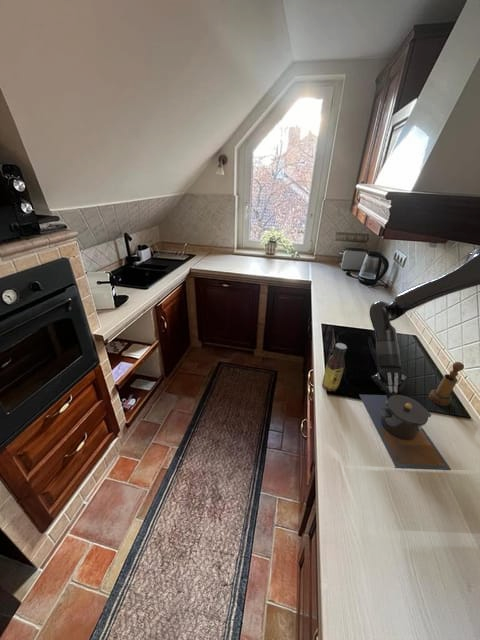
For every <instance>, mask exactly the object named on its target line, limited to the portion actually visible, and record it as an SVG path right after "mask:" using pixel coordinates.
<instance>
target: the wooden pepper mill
mask: <svg viewBox="0 0 480 640" xmlns="http://www.w3.org/2000/svg"><path fill="white" fill-rule="evenodd" d="M464 369H465V365H464V364H463V362H460V361H455V362H453V363H452V370H450V371H449V373H446V374H444V375H443V377H442V378H441V381H440V382H439V385H438V387H437V388H436V389H431V391H430V392H429V393H428V398H429V399H430V401H431V402H432V403H434V404H435V405H437V406H441V407H447V406H449V405H450V403H451V402H452V397H451V396H450V395H451V393H452V391H453V390H454V388H455V386H456V385H457V383H458V381H459V380H458V378H457V377H458V376H459V372H461V371H463V370H464Z"/></svg>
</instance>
